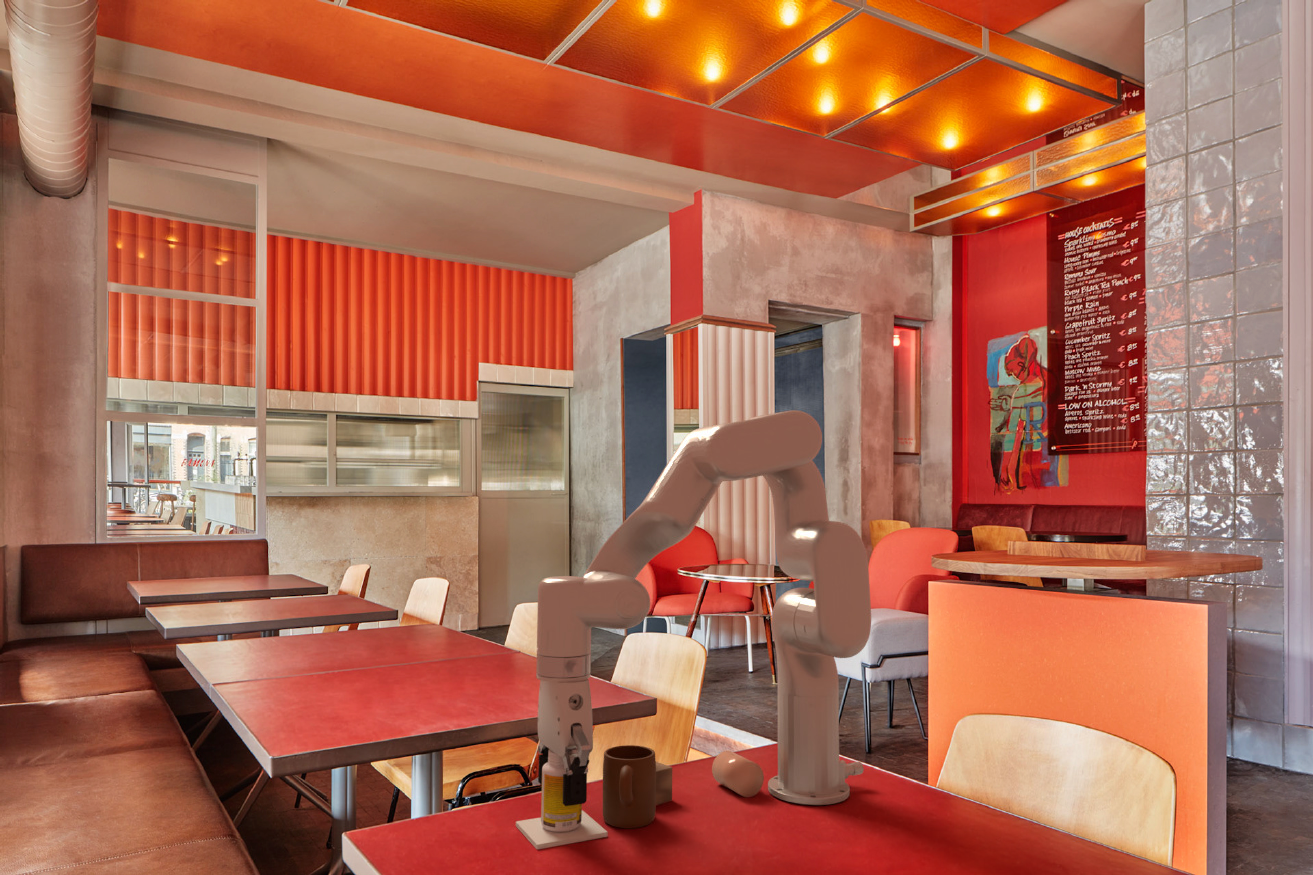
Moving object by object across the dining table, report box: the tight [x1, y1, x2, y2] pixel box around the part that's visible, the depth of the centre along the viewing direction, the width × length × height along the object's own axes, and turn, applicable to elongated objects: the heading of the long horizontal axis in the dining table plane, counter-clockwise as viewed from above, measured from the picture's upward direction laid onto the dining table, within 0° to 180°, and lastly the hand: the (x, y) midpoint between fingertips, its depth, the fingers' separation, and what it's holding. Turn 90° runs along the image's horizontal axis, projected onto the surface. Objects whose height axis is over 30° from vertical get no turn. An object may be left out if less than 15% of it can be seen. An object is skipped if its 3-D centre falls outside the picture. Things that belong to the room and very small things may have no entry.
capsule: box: [711, 750, 765, 798], centre depth 134 cm, size 5×7×5 cm
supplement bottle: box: [540, 748, 583, 832], centre depth 117 cm, size 6×6×10 cm
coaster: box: [515, 809, 608, 850], centre depth 116 cm, size 10×9×1 cm
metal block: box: [656, 761, 673, 806], centre depth 129 cm, size 5×5×5 cm
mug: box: [602, 744, 657, 829], centre depth 119 cm, size 12×8×9 cm, turn 178°
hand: (561, 792), depth 116 cm, fingers open, 9 cm apart
